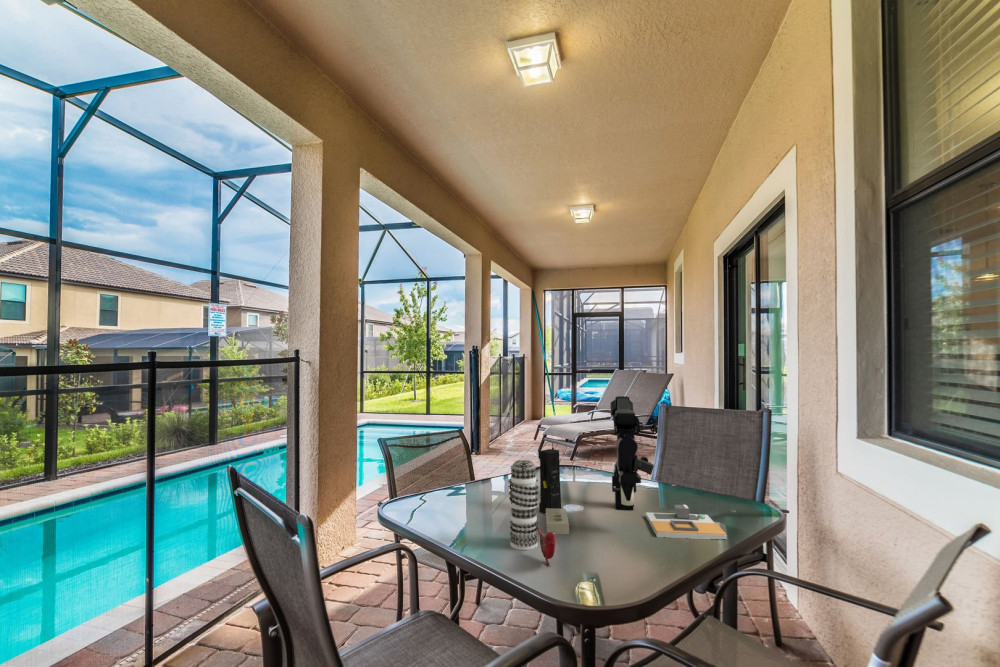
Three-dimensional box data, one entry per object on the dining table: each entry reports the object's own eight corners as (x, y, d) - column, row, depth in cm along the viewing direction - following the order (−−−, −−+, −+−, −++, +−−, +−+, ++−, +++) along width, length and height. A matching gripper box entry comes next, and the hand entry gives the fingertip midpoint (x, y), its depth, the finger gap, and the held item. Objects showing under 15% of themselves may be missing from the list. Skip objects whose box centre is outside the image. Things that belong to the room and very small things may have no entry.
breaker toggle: (677, 517, 158) (677, 507, 158) (674, 514, 162) (674, 504, 162) (689, 518, 158) (689, 508, 158) (686, 514, 162) (686, 504, 162)
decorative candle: (509, 538, 145) (508, 458, 147) (538, 539, 145) (537, 458, 146) (508, 550, 136) (508, 464, 138) (540, 550, 136) (538, 464, 137)
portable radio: (548, 516, 166) (547, 446, 168) (536, 512, 171) (535, 444, 172) (562, 511, 171) (561, 444, 173) (551, 508, 176) (550, 442, 178)
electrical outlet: (565, 506, 166) (569, 523, 148) (565, 517, 166) (569, 536, 148) (545, 505, 167) (546, 522, 149) (545, 517, 167) (546, 535, 149)
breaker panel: (657, 537, 146) (656, 528, 146) (645, 516, 165) (645, 509, 166) (726, 540, 143) (726, 531, 143) (707, 518, 162) (706, 511, 163)
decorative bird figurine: (548, 575, 120) (548, 536, 120) (533, 548, 137) (532, 514, 138) (559, 574, 120) (558, 535, 121) (542, 548, 137) (542, 514, 138)
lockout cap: (622, 505, 149) (621, 486, 149) (620, 501, 153) (620, 483, 153) (634, 505, 148) (634, 486, 148) (632, 502, 152) (632, 483, 152)
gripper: (657, 456, 141) (658, 508, 140) (646, 446, 160) (647, 491, 159) (620, 455, 143) (621, 507, 142) (613, 445, 161) (614, 490, 160)
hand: (627, 498), depth 150 cm, fingers closed on lockout cap, 4 cm apart
